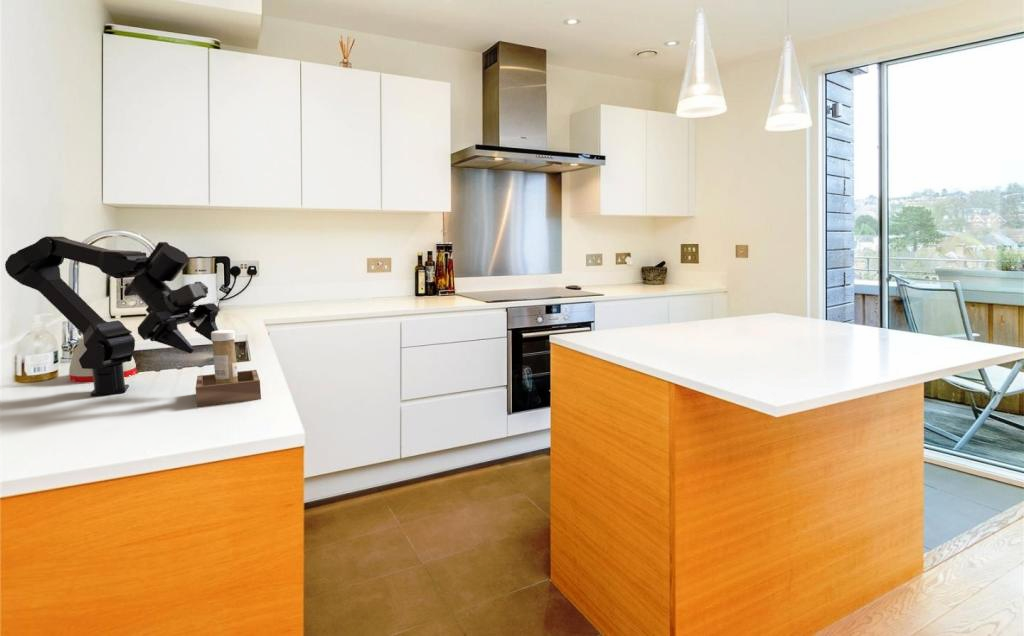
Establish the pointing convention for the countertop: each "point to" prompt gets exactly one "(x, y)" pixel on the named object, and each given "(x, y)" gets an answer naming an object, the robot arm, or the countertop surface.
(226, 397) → the walnut crate
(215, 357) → the sprinkles bottle
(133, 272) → the robot arm
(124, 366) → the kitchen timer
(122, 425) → the countertop surface
